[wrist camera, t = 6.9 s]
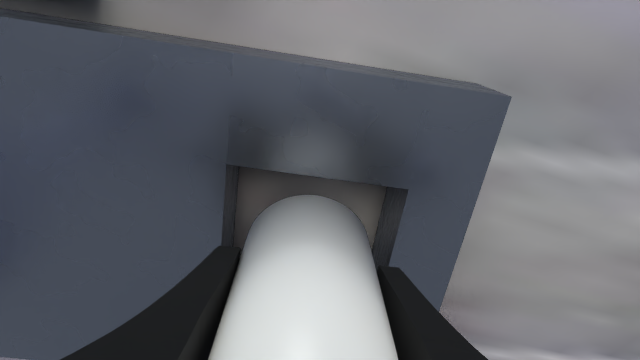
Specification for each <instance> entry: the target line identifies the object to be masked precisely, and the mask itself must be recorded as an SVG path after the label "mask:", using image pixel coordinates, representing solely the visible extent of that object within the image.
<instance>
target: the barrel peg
mask: <svg viewBox="0 0 640 360" xmlns="http://www.w3.org/2000/svg"><path fill="white" fill-rule="evenodd" d="M208 360H398V356H397V352H396V348H395V344H394V340H393V336H392V332H391V328H390V324H389V320H388V316H387V312H386V308H385V304H384V300H383V296H382V292H381V288H380V284H379V280H378V276H377V272H376V268H375V264H374V260H373V256H372V252H371V248H370V244H369V240H368V236H367V232H366V230H365V228H364V226H363V224H362V222H361V221H360V219H359V218H358V217H357V216H356V215H355V214H354V213H353V212H352V211H351V210H350V209H349V208H347V207H346V206H345V205H343V204H341V203H339V202H337V201H335V200H333V199H330V198H327V197H323V196H317V195H298V196H292V197H288V198H285V199H282V200H279V201H277V202H275V203H274V204H272V205H270V206H269V207H267V208H266V209H265V210H264V211H263V212H261V213H260V214H259V215H258V217H257V218H256V219H255V221H254V222H253V224H252V226H251V227H250V230H249V232H248V235H247V238H246V241H245V245H244V248H243V251H242V254H241V257H240V260H239V263H238V267H237V270H236V273H235V276H234V279H233V282H232V285H231V289H230V292H229V295H228V298H227V301H226V304H225V308H224V311H223V314H222V317H221V320H220V323H219V326H218V330H217V333H216V336H215V339H214V342H213V345H212V348H211V352H210V355H209V358H208Z"/></svg>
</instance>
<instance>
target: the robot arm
mask: <svg viewBox="0 0 640 360" xmlns="http://www.w3.org/2000/svg"><path fill="white" fill-rule="evenodd" d="M239 259H240V248H235V247H227V246H218V247H216V248H215V249H214V250H213V251H212V252H211V253H210V254H209V255H208V256H207V257H206V258H205V259H204V260H203V261H202V262H201V263H200V264H199V265H198V266H197V267H196V268H194V269H193V270H192V271H191V272H190V273H189V274H188V275H187V276H186V277H184V278H183V279H182V280H181V281H180V282H179V283H178V284H176V285H175V286H174V287H173V288H172V289H170V290H169V291H168V292H167V293H165V294H164V295H163V296H161V297H160V298H159V299H158V300H156V301H155V302H154V303H152V304H151V305H150V306H149V307H147V308H146V309H144V310H143V311H142V312H140V313H139V314H137V315H136V316H134V317H133V318H132V319H130V320H128V321H127V322H125V323H124V324H122V325H121V326H119V327H118V328H116V329H115V330H113V331H111V332H110V333H108V334H106V335H104V336H102V337H101V338H99V339H97V340H95V341H93V342H92V343H90V344H88V345H86V346H85V347H83V348H81V349H79V350H77V351H76V352H74V353H72V354H70V355H68V356H66V357H64V358H62V359H60V360H208V358H209V355H210V352H211V348H212V345H213V342H214V339H215V336H216V333H217V330H218V326H219V323H220V320H221V317H222V314H223V311H224V308H225V304H226V301H227V298H228V295H229V292H230V289H231V285H232V282H233V279H234V276H235V273H236V270H237V267H238V263H239ZM377 276H378V280H379V284H380V288H381V292H382V296H383V300H384V304H385V308H386V312H387V316H388V320H389V324H390V328H391V332H392V336H393V340H394V344H395V348H396V352H397V356H398V360H488V359H487V358H486V357H485V356H483V355H482V354H481V353H480V352H479V351H478V350H477V349H475V348H474V347H473V346H472V345H471V344H470V343H469V342H468V341H467V340H466V339H465V338H464V337H463V336H462V335H461V334H460V333H459V332H458V331H457V330H456V329H455V328H454V327H452V325H451V324H450V323H449V322H448V321H447V320H446V319H445V318H444V317H443V316H442V315H441V314H440V313H439V312H438V311H437V310H436V309H435V308H434V306H433V305H432V304H431V303H430V302H429V301H428V300H427V299H426V298H425V296H424V295H423V294H422V293H421V292H420V291H419V290H418V288H417V287H416V286H415V285H414V284H413V283H412V281H411V280H410V279H409V278H408V277H407V276H406V275H405V273H404V272H403V271H402V270H401V269H400V268H398V267H390V266H381V265H379V266H378V270H377Z"/></svg>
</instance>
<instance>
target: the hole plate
mask: <svg viewBox="0 0 640 360" xmlns="http://www.w3.org/2000/svg"><path fill="white" fill-rule="evenodd" d="M510 100H511V96H508V95H506V94H503V93H500V92H498V91H495V90H492V89H490V88H487V87H484V86H482V85H479V84H476V83H469V82H463V81H457V80H451V79H444V78H438V77H432V76H425V75H419V74H413V73H406V72H400V71H394V70H388V69H381V68H375V67H369V66H362V65H356V64H350V63H343V62H337V61H331V60H325V59H318V58H312V57H306V56H299V55H293V54H287V53H280V52H274V51H268V50H262V49H255V48H249V47H243V46H236V45H230V44H224V43H218V42H211V41H205V40H199V39H192V38H186V37H180V36H173V35H167V34H161V33H155V32H148V31H142V30H136V29H129V28H123V27H117V26H110V25H104V24H98V23H92V22H85V21H79V20H73V19H66V18H60V17H54V16H47V15H41V14H35V13H29V12H22V11H16V10H10V9H3V8H0V357H8V358H18V359H29V360H60V359H62V358H64V357H66V356H68V355H70V354H72V353H74V352H76V351H77V350H79V349H81V348H83V347H85V346H86V345H88V344H90V343H92V342H93V341H95V340H97V339H99V338H101V337H102V336H104V335H106V334H108V333H110V332H111V331H113V330H115V329H116V328H118V327H119V326H121V325H122V324H124V323H125V322H127V321H128V320H130V319H132V318H133V317H134V316H136V315H137V314H139V313H140V312H142V311H143V310H144V309H146V308H147V307H149V306H150V305H151V304H152V303H154V302H155V301H156V300H158V299H159V298H160V297H161V296H163V295H164V294H165V293H167V292H168V291H169V290H170V289H172V288H173V287H174V286H175V285H176V284H178V283H179V282H180V281H181V280H182V279H183V278H184V277H186V276H187V275H188V274H189V273H190V272H191V271H192V270H193V269H194V268H196V267H197V266H198V265H199V264H200V263H201V262H202V261H203V260H204V259H205V258H206V257H207V256H208V255H209V254H210V253H211V252H212V251H213V250H214V249H215V248H216V247H218V246H227V247H233V238H234V225H235V212H236V199H237V187H238V174H239V166H242V167H249V168H256V169H263V170H271V171H278V172H285V173H293V174H300V175H307V176H315V177H322V178H329V179H336V180H344V181H351V182H358V183H366V184H373V185H380V186H388V187H387V191H386V195H385V199H384V203H383V207H382V212H381V216H380V220H379V224H378V228H377V233H376V237H375V241H374V245H373V249H372V256H373V260H374V264H375V268H376V272H377V270H378V266H379V265H381V266H390V267H398V268H400V269H401V270H402V271H403V272H404V273H405V275H406V276H407V277H408V278H409V279H410V280H411V281H412V283H413V284H414V285H415V286H416V287H417V288H418V290H419V291H420V292H421V293H422V294H423V295H424V296H425V298H426V299H427V300H428V301H429V302H430V303H431V304H432V305H433V306H434V308H435V309H436V310H437V311H438V312H439V310H440V307H441V304H442V301H443V298H444V295H445V292H446V289H447V286H448V283H449V280H450V277H451V274H452V271H453V268H454V266H455V263H456V260H457V257H458V254H459V251H460V248H461V245H462V242H463V239H464V236H465V233H466V230H467V227H468V224H469V221H470V218H471V215H472V212H473V209H474V207H475V204H476V201H477V198H478V195H479V192H480V189H481V186H482V183H483V180H484V177H485V174H486V171H487V168H488V165H489V162H490V159H491V156H492V153H493V151H494V148H495V145H496V142H497V139H498V136H499V133H500V130H501V127H502V124H503V121H504V118H505V115H506V112H507V109H508V106H509V103H510Z"/></svg>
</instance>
